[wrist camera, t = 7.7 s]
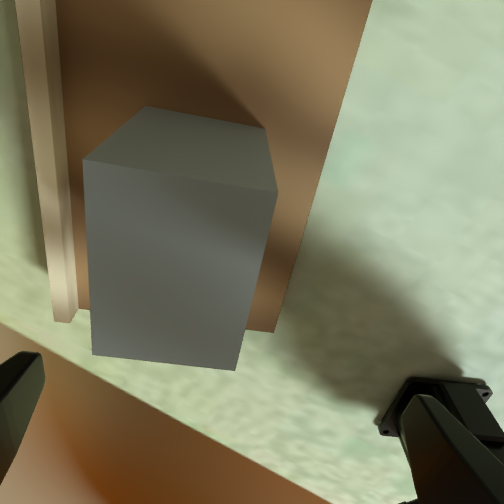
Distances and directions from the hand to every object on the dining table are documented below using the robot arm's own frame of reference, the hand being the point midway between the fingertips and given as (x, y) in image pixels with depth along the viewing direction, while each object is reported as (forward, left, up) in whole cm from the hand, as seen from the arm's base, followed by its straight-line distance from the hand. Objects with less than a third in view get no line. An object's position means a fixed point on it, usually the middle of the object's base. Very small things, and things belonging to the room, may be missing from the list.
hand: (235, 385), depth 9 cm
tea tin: (0, +2, -10) cm, 10 cm away
